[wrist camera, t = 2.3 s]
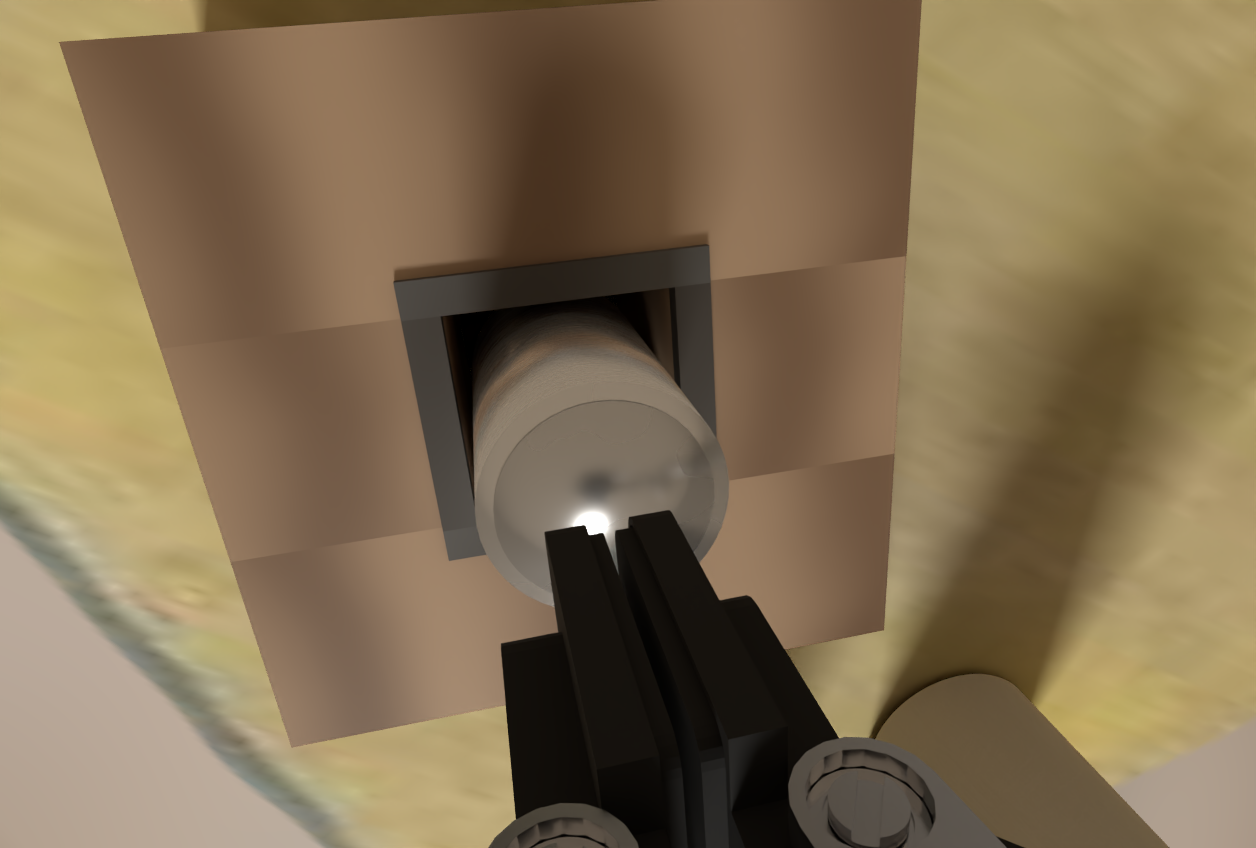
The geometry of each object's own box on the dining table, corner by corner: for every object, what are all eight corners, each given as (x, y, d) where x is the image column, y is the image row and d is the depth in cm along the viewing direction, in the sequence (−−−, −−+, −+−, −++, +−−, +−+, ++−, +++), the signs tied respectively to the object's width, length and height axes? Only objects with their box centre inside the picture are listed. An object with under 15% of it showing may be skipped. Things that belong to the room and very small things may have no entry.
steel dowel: (633, 273, 20) (727, 366, 13) (645, 431, 21) (734, 591, 14) (458, 294, 19) (454, 405, 12) (485, 456, 21) (495, 635, 14)
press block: (777, 22, 23) (928, -20, 15) (779, 499, 29) (887, 634, 22) (203, 65, 21) (53, 40, 13) (339, 574, 27) (290, 753, 19)
